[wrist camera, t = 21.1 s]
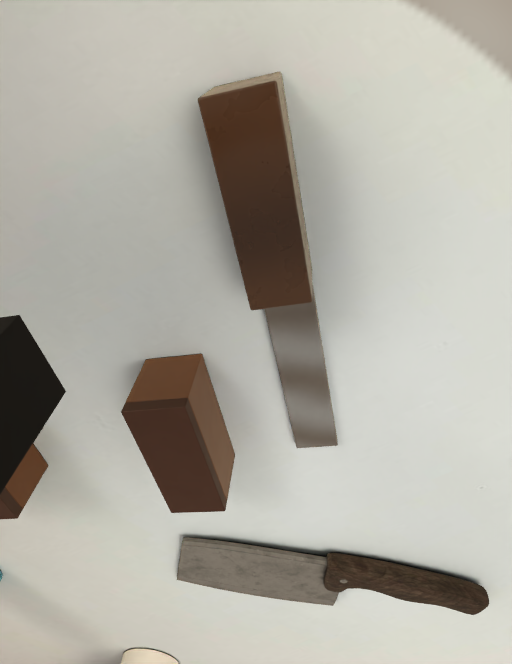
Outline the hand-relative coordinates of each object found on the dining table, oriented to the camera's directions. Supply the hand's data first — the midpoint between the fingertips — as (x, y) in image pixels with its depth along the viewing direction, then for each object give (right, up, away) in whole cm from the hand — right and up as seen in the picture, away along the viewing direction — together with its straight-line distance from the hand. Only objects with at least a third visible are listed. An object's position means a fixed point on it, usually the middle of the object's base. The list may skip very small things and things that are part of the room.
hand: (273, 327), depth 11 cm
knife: (+1, +2, +15) cm, 16 cm away
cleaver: (+6, -24, +33) cm, 41 cm away
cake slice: (-5, -6, +22) cm, 23 cm away
